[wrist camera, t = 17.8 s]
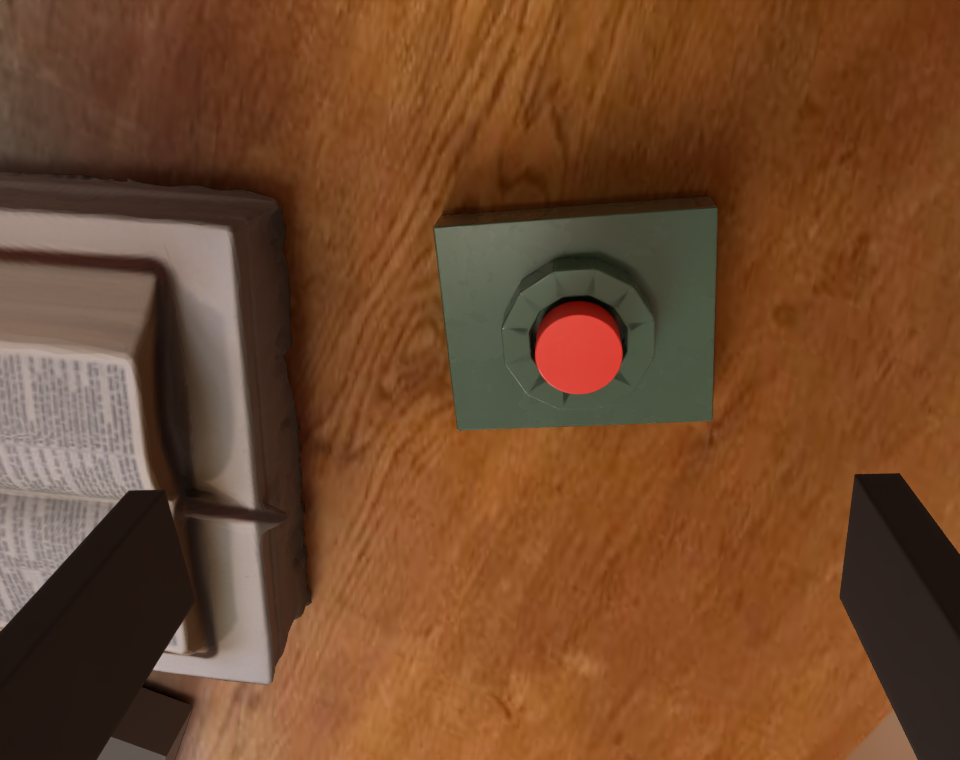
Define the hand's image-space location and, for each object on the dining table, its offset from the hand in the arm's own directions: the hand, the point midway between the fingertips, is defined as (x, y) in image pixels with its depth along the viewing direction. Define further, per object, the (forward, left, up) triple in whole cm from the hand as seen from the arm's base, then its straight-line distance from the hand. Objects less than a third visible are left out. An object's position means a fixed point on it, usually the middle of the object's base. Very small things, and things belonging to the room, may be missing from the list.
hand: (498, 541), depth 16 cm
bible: (+22, +8, -24) cm, 33 cm away
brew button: (-2, +4, -20) cm, 20 cm away
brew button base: (-2, +4, -23) cm, 24 cm away
